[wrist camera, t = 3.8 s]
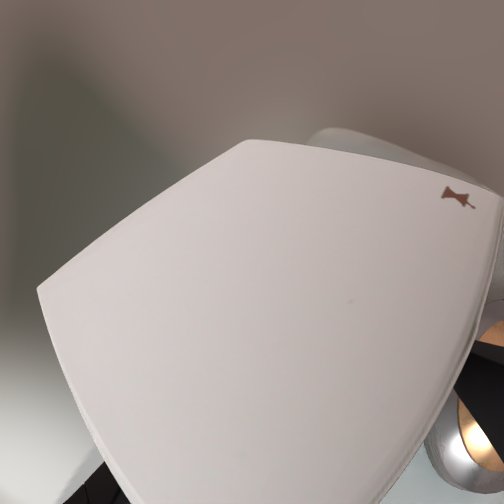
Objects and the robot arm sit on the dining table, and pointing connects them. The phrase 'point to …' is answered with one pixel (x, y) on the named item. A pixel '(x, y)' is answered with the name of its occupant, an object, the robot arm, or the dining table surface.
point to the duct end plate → (468, 429)
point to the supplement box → (275, 325)
